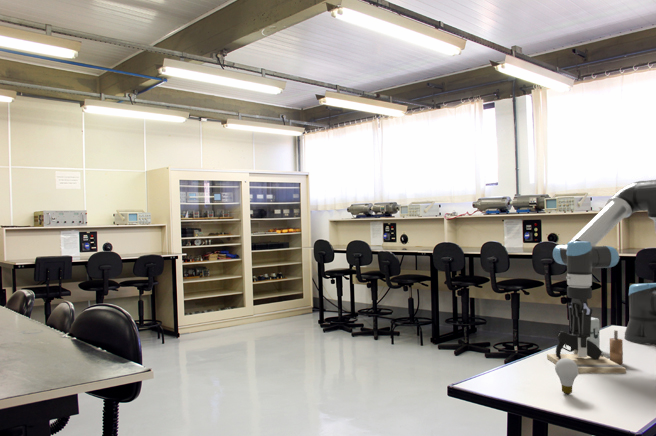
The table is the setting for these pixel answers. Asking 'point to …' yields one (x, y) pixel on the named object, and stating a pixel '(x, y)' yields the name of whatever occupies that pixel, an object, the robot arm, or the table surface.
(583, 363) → the board
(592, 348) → the gun
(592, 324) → the ink box
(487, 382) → the table surface
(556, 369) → the light bulb
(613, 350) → the awl
